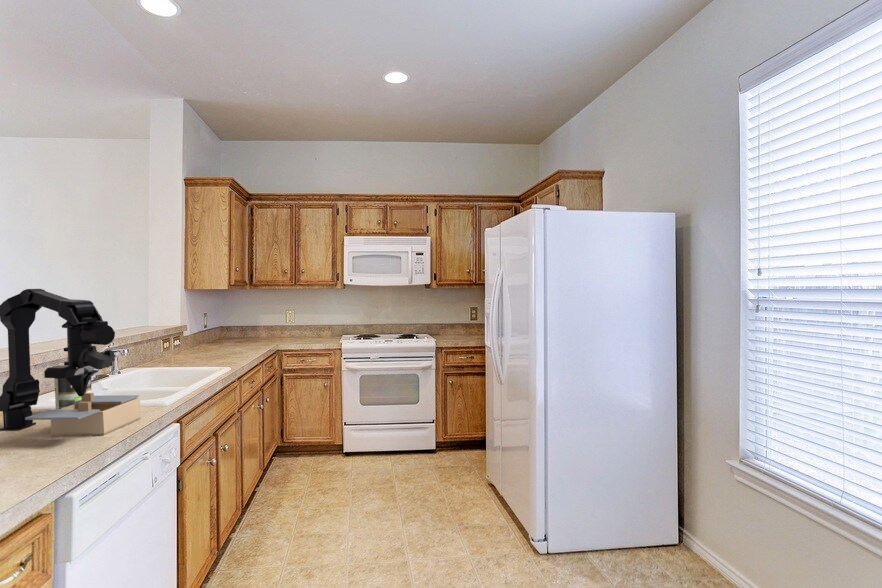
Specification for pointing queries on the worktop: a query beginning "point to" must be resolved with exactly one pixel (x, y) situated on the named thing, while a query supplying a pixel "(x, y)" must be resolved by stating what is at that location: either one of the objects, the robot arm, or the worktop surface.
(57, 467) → the worktop surface
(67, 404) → the coffee can
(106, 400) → the lid panel
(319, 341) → the worktop surface
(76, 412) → the lid panel
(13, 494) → the worktop surface
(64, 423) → the carton
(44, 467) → the worktop surface
